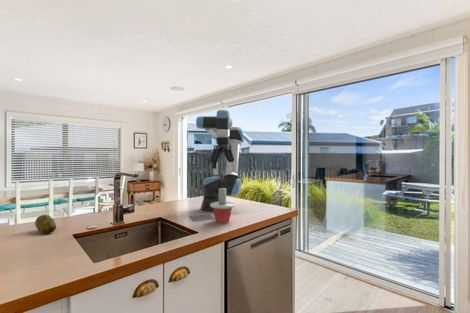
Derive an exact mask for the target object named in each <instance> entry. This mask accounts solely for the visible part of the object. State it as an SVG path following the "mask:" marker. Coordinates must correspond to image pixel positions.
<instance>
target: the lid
mask: <svg viewBox="0 0 470 313" xmlns="http://www.w3.org/2000/svg"><path fill="white" fill-rule="evenodd" d="M210 207H212V208H217V209H227V208H234V207H235V203H234V202H230V201H227V195H226V188H219V202H213V203H211V204H210Z"/></svg>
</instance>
